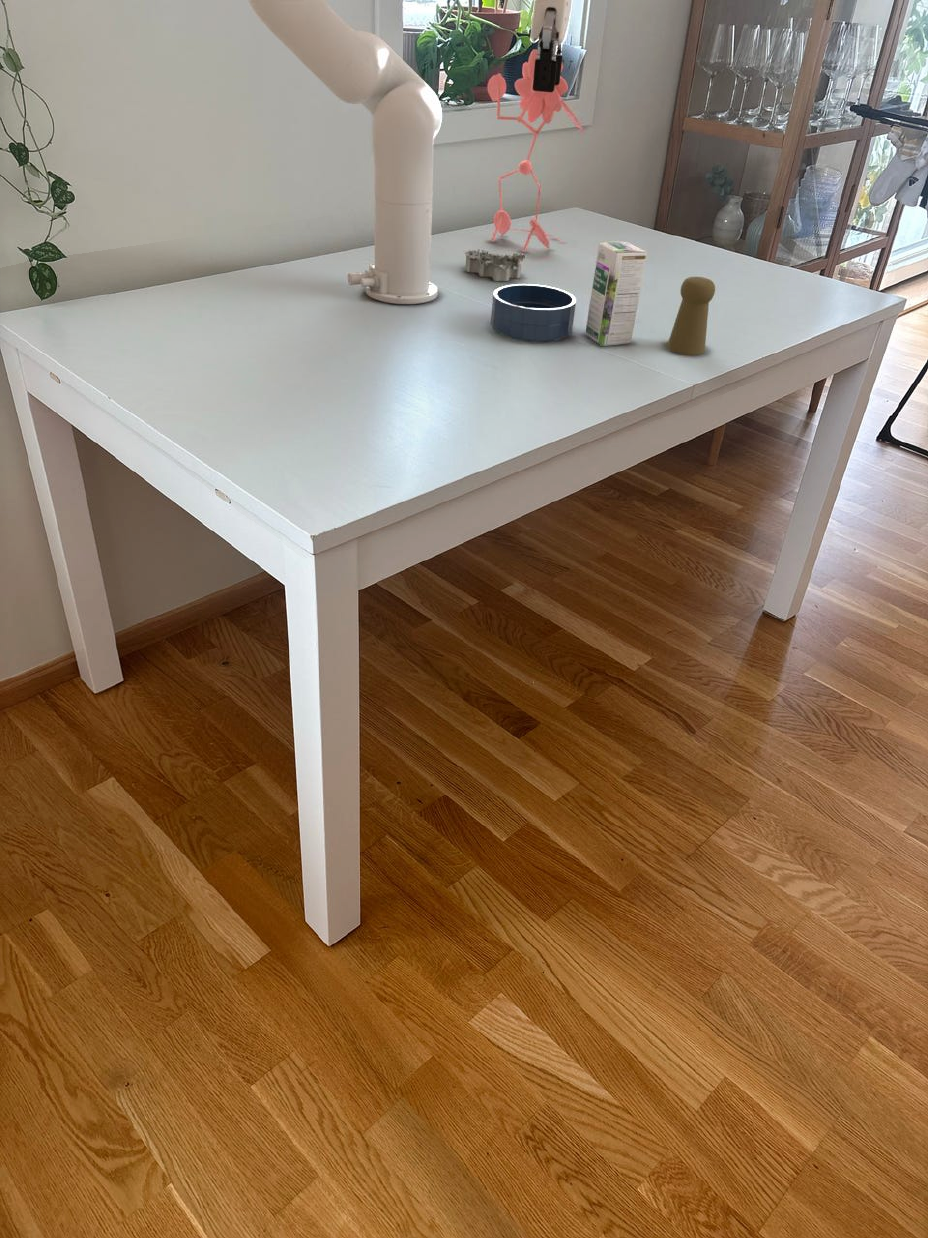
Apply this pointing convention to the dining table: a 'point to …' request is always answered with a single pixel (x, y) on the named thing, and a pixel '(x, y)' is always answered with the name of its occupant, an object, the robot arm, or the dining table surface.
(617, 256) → the syrup box
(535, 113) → the figurine
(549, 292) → the bowl
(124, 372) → the dining table surface
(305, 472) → the dining table surface
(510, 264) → the egg carton
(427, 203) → the robot arm
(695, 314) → the olive brown pawn
